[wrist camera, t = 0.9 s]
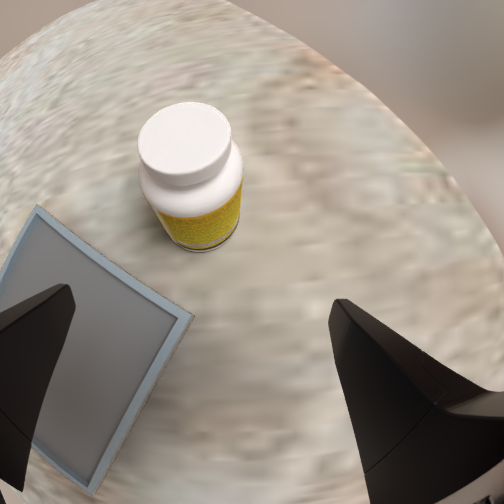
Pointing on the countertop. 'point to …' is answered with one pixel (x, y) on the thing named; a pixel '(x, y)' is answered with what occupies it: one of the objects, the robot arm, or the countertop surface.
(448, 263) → the countertop surface
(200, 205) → the pill bottle
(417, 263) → the countertop surface
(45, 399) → the grey square tray
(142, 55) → the countertop surface
